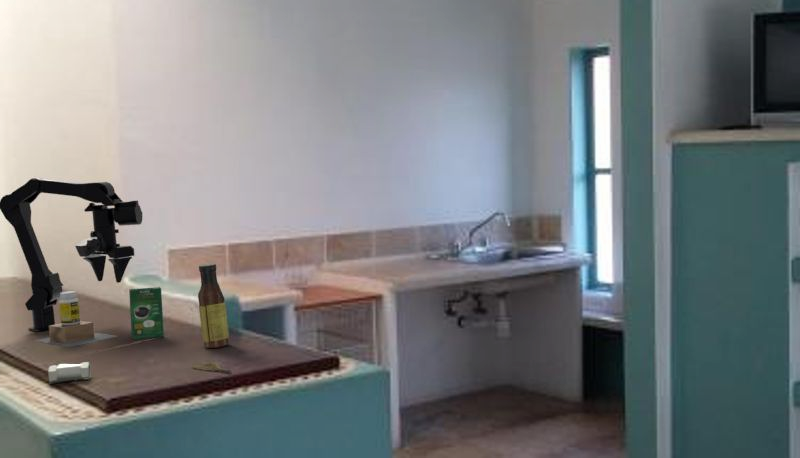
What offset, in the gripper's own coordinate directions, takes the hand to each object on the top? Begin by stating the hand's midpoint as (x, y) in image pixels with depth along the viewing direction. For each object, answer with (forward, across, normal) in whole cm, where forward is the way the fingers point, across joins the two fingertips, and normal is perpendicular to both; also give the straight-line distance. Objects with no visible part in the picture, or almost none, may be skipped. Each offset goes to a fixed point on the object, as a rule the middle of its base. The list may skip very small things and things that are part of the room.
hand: (109, 281), depth 259 cm
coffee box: (+13, +27, -7) cm, 31 cm away
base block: (+12, +9, -18) cm, 23 cm away
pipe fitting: (+13, +50, -42) cm, 67 cm away
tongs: (+13, +73, -22) cm, 78 cm away
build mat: (+12, +9, -17) cm, 23 cm away
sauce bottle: (+13, +53, -6) cm, 55 cm away
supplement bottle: (+8, +9, -18) cm, 22 cm away
